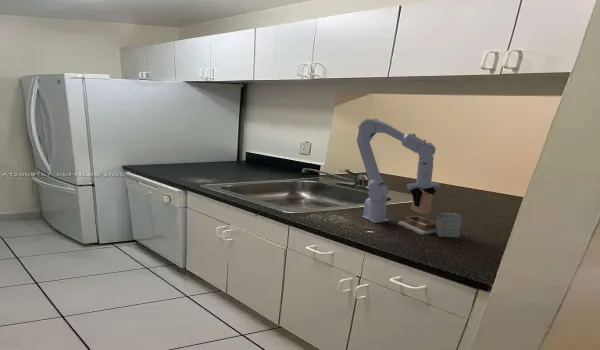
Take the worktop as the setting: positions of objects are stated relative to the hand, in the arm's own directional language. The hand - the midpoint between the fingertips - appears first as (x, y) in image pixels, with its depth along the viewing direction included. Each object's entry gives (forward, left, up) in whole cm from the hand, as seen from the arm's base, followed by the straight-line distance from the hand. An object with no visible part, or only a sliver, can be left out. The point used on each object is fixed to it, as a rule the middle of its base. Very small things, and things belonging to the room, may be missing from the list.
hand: (421, 205), depth 144 cm
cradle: (0, +1, -9) cm, 9 cm away
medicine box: (+11, +4, -10) cm, 15 cm away
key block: (0, 0, -2) cm, 3 cm away
